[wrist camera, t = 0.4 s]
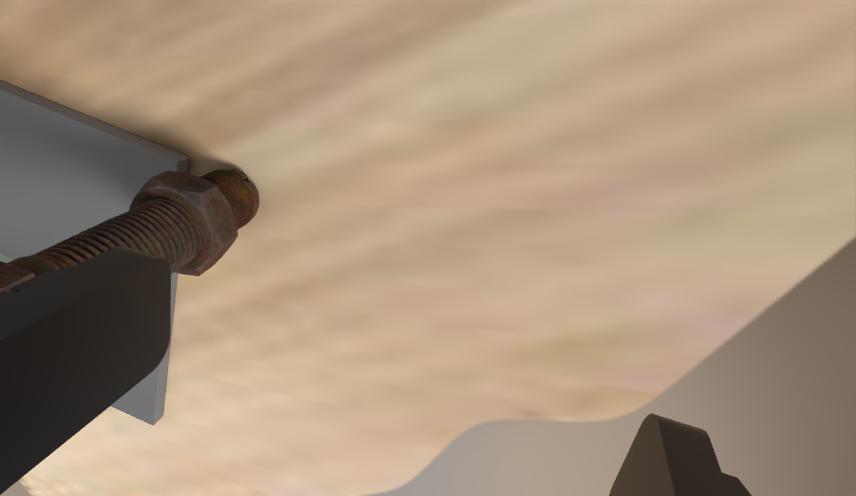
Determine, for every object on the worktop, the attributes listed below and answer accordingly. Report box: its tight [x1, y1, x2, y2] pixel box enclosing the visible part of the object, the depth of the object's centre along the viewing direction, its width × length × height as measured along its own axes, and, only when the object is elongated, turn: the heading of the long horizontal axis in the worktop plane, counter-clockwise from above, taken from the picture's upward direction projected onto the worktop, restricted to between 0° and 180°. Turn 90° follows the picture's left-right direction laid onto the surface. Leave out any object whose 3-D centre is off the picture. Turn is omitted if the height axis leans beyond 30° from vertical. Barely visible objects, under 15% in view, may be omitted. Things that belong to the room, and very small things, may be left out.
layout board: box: [0, 80, 190, 425], centre depth 34 cm, size 20×14×1 cm
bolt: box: [0, 170, 259, 292], centre depth 23 cm, size 6×5×15 cm
